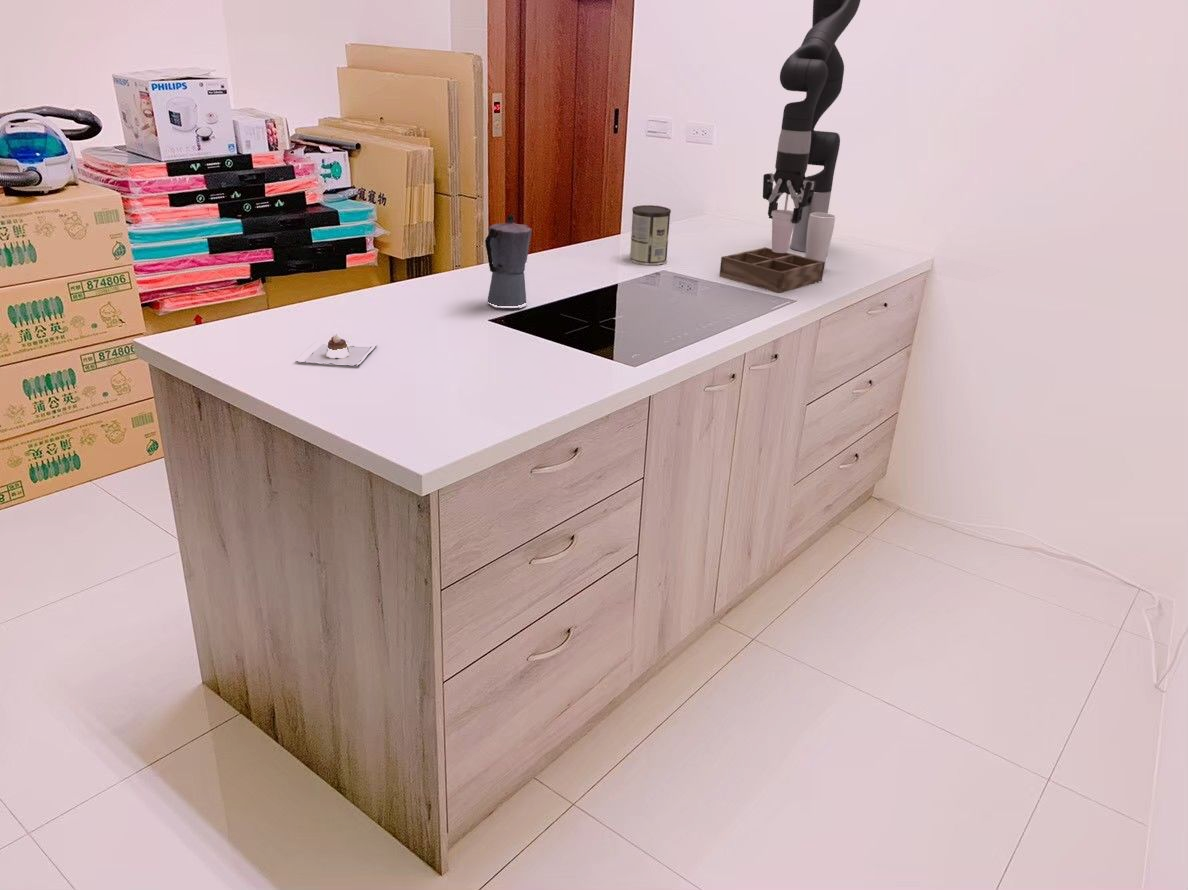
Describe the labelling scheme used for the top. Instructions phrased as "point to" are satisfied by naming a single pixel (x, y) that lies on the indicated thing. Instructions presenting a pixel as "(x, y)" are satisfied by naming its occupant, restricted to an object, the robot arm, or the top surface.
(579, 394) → the top surface
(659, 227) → the coffee can
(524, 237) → the moka pot
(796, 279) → the bottle crate
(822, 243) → the drinking glass
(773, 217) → the smoothie
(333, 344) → the dessert
